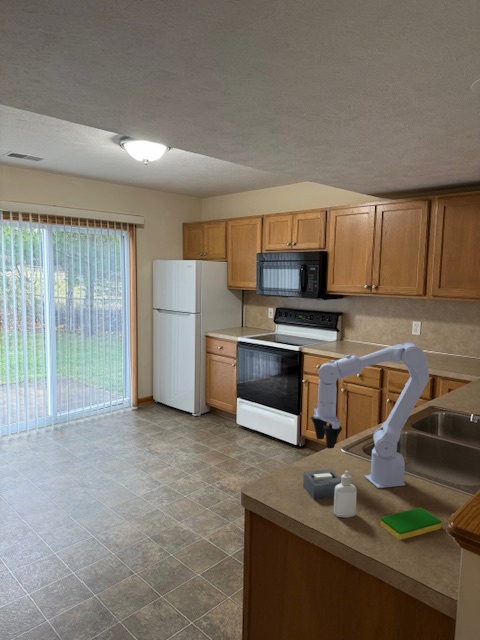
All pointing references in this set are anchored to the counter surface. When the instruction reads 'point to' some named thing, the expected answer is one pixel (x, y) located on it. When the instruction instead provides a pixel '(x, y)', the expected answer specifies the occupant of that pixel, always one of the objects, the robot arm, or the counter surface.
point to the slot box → (320, 484)
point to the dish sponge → (410, 523)
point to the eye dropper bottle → (345, 497)
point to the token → (322, 476)
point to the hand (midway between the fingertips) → (325, 443)
